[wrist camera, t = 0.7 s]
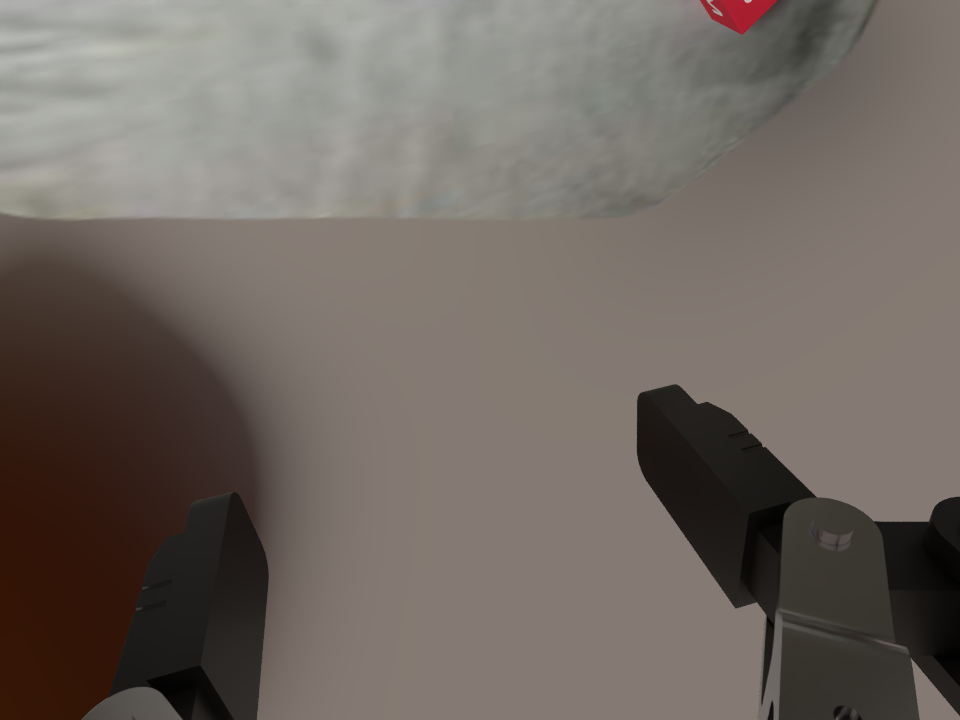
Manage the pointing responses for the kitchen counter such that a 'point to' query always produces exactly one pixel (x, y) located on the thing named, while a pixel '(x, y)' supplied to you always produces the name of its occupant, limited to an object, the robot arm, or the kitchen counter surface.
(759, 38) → the kitchen counter surface
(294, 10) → the kitchen counter surface
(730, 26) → the red letter m cube
